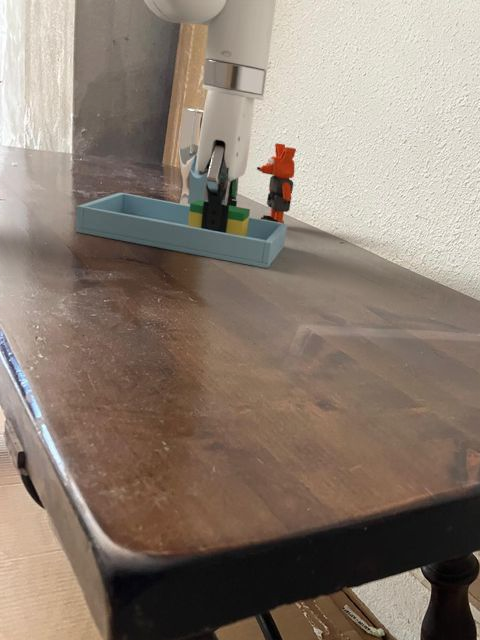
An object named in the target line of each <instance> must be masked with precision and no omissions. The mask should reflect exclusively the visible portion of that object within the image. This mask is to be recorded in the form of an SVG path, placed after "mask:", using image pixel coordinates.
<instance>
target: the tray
mask: <svg viewBox="0 0 480 640" xmlns="http://www.w3.org/2000/svg"><path fill="white" fill-rule="evenodd" d="M189 213H190V206H189V205H184V204H179V202H173V201H168V200H163V199H158V198H153V197H152V198H151V197H147V196H141V195H135V194H131V193H125V192H121V191H120V192H117V193H114V194H111V195H108V196H105V197H101V198H98V199H95V200H93V201H89V202H86V203H83V204H79V205H77V206H76V220H75V221H76V223H75V225H76V227H75V232H76V233H79V234H83V235H84V234H85V235H89V236H94V237H100V238H106V239H112V240H116V241H121V242H127V243H133V244H137V245H143V246H147V247H152V248H158V249H163V250H169V251H174V252H179V253H183V254H189V255H194V256H199V257H206V258H211V259H214V260H215V259H216V260H222V261H226V262H231V263H237V264H243V265H247V266H252V267H257V268H258V267H259V268H263V269H269V267H270V266H271V264H272V263H273V261H275V259H276V258H277V257H278V255H279V254H280V252H281V251H282V250H283V248H284V247H285V243H286V242H285V241H286V237H287V230H288V224H287V223H285V222H284V223H279V222H274V221H268V220H263V219H261V218H257V217H252V216H249V221H248V228H247V236H246V237H244V236H239V235H233V234H228V233H223V232H217V231H212V230H207V229H202V228H196V227H191V226H188V223H189Z"/></svg>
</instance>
